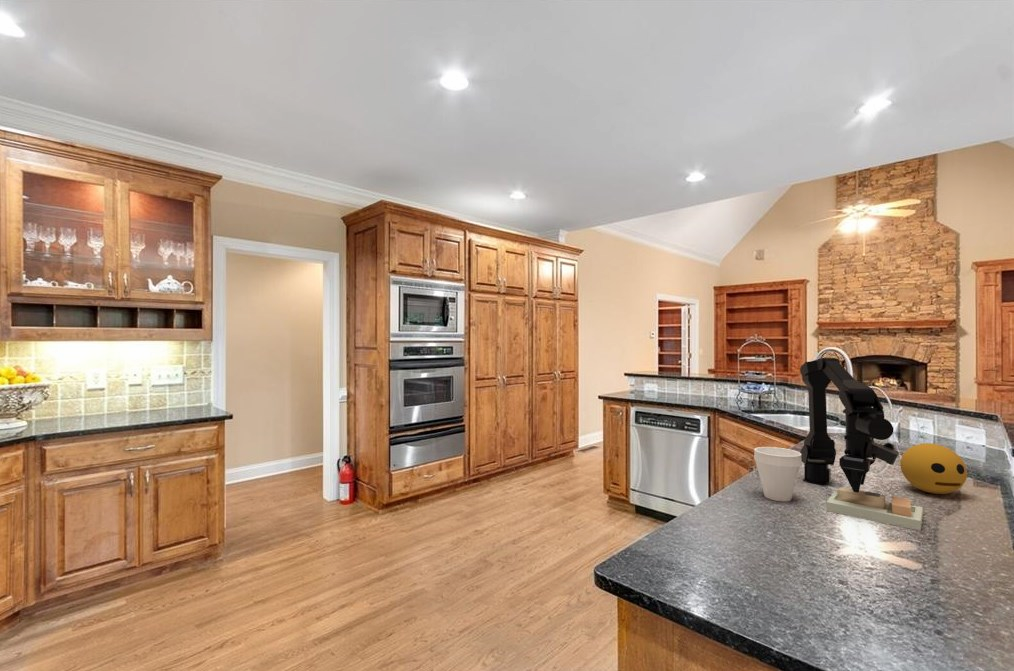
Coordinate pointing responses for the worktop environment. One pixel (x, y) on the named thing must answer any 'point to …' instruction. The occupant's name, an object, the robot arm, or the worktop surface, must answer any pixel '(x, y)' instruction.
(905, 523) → the jig
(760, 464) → the cup
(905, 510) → the orange rectangular block
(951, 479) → the toy
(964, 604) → the worktop surface
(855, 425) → the robot arm
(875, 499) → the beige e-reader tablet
